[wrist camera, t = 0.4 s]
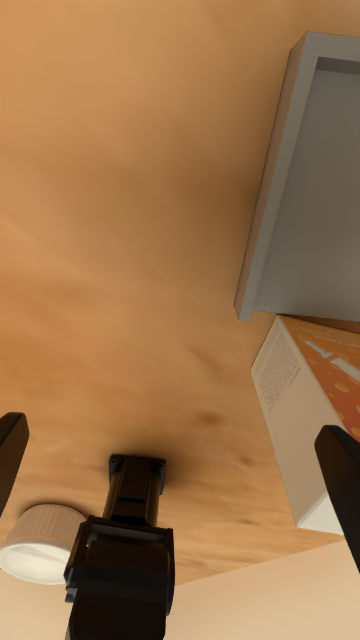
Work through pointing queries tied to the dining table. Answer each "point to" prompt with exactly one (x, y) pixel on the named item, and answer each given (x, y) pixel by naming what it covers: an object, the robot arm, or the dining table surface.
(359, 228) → the tray
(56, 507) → the ramekin
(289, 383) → the small box
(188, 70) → the dining table surface
